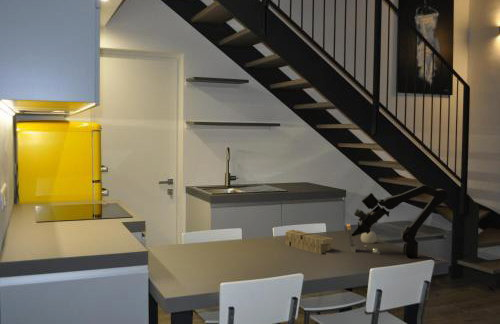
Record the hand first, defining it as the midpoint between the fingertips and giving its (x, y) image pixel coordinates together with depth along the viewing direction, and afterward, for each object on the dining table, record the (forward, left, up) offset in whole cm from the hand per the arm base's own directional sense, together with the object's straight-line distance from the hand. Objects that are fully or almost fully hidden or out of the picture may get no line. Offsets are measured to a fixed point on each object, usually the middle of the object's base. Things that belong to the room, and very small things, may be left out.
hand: (352, 235), depth 269 cm
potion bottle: (+11, -25, -9) cm, 29 cm away
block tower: (+19, +14, -9) cm, 25 cm away
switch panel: (-4, -4, -9) cm, 11 cm away
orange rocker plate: (-1, -1, -6) cm, 7 cm away
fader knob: (-2, -8, -8) cm, 12 cm away
